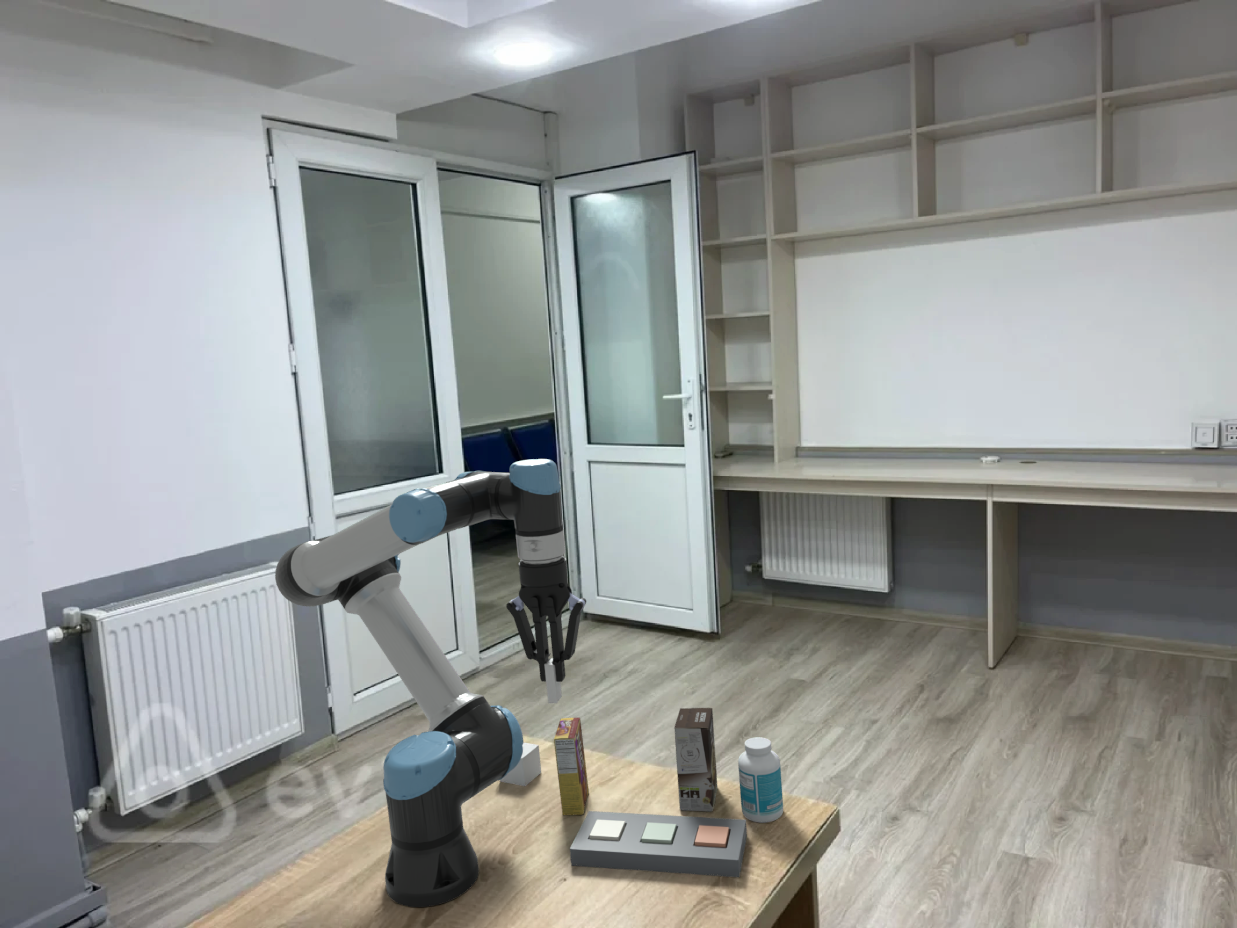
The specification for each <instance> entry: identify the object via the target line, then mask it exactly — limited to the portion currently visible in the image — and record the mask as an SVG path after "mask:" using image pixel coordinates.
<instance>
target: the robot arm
mask: <svg viewBox="0 0 1237 928" xmlns="http://www.w3.org/2000/svg"><path fill="white" fill-rule="evenodd" d="M561 486H562V485H561V483H560V479H559V472H558V467H557V464H556V462H554V461H553V460H552V459H550V458H549V459H547V458H538V459H537V458H536V459H534V458H533V459H523V460H519V461H515V462H513V463H512V464H511V465H510V466H509V472H495V471H493V472H492V471H484V470H475V471H465V472H464V471H463V472H462V473H459V474H458V475H457V476H456V477H455V478H454V479H453V480H450V481H446V482H444V483H439V484H435V485H430V486H427V487H422V488H418V487H417V488H415V489H412V490H409V491H408V492H404V493H402V494H400V495H398V496H397V497H395V498H394V499H393V500H392V503H391V504H389V505H388V506H386V507H384V508H382V509H380V510H379V511H376V512H374V513H373V514H370V515H369V516H366V517H364V518H363V519H361V520H359V521H357V522H355V523H354V524H352V525H351V524H350V526H347V527H346V528H344V529H342V530H340V531H338V532H336V533H334V534H331V535H327V536H325V537H320V538H317V539H313V540H310V541H305V542H302V543H300V544H297V545H295V546H293V547H291V548H290V549H289V550H287V551H286V552H285V553H284V554H283V555H281V558H280V559H279V560H278V562H277V564H276V568H275V571H274V573H275V574H274V577H275V585H276V587H277V589H278V591H279V592H280V594H281V595H282V596H283V597H284V598H285V599H286V600H287V601H289V602H290V603H292V604H295V605H298V606H301V607H317V606H322V605H325V604H329V603H331V602H335V601H339V604H341V607H342V608H343V609H344V611H345V612H346V613H347V614H353V615H358V616H359V618H360V619H361V621H362V622H363V624H364V626H365V627H366V628H367V630H368V631H369V633H370V635H371V636H372V637H373V638H374V640H375V642H376V644H377V645H378V646H379V648H380V649H381V651H382V653H384V656H385V657H386V658H387V660H388V661H389V663H390V665H391V666H392V667H393V669H394V670H395V672H396V673H397V675H398V676H399V678H400V679H401V681H402V683H403V684H404V685H405V688H406V689H407V690H408V691H409V693H410V694H411V696H412V697H413V699H414V700H415V702H416V704H417V705H418V707H419V708H420V710H421V711H422V713H423V714H424V716H425V717H426V719H427V720H428V721H429V727H428V731H424V732H421V733H420V734H418V735H417V734H413V735H411V736H408V737H406V738H404V739H402V740H401V741H399V742H398V743H397V744H395V745H394V746H393V747H392V748H391V749H390V750H389V751H388V753H387V754H386V756H385V758H384V761H383V767H382V768H383V778H382V779H383V788H384V789H383V790H384V792H385V800H386V804H387V805H386V806H387V813H388V820H389V821H388V822H389V830H390V831H389V832H390V839H391V846H390V850H389V855H388V860H387V865H386V869H385V874H384V883H385V887H386V888H385V891H386V894H387V895H388V897H389V898H390V900H392V901H394V902H395V903H397V904H399V905H401V906H406V907H411V908H427V907H432V906H438V905H441V904H445V903H448V902H450V901H452V900H454V899H456V898H458V897H460V896H462V895H463V894H465V893H467V892H468V890H470V889H471V888H472V886H473V885H475V883H476V881H477V879H478V877H479V874H480V870H479V869H480V867H479V860H478V859H479V858H478V855H477V853H476V851H475V849H474V847H473V845H472V843H471V841H470V839H469V836H468V834H467V833H466V830H465V829H464V822H463V812H462V806H463V804H465V803H466V802H467V801H469V800H470V799H472V798H473V797H475V796H476V795H478V794H480V793H481V792H483V791H484V790H486V789H487V788H488V787H490V786H492V784H494V783H496V782H498V781H499V782H500V780H501V779H503V778H504V776H506V775H507V773H509V772H510V771H511V770H513V769H514V768H515V767H516V766H517V764H518V763H519V761H520V759H521V757H522V753H523V746H522V745H523V742H524V736H523V731H522V728H521V725H520V723H519V721H518V719H517V718H516V716H515V715H514V714H513V712H512V711H511V710H509V709H508V708H507V707H503V706H502V705H491V704H490V703H489V702H488V701H487V699H486V698H485V696H484V695H483V694H478V693H477V694H476V693H473V692H471V691H470V690H469V688H468V687H467V685H466V684H465V682H464V681H463V680H462V678H461V677H460V675H459V674H458V672H457V670H455V668H454V666H453V665H452V663H451V662H450V661H449V659H448V657H447V656H446V655H445V653H444V652H443V650H442V649H441V647H440V646H439V644H438V643H437V642H436V640H435V638H434V637H433V636H432V634H431V633H430V631H429V629H428V628H427V626H426V625H425V624H424V623H423V621H422V620H421V617H420V616H419V615H418V614H417V613H416V611H415V609H414V607H413V606H412V605H411V604H410V602H409V601H408V599H407V598H406V596H405V594H404V593H403V592H402V591H401V588H400V585H401V581H402V576H401V574H400V573H399V572H400V569H401V562H402V561H401V558H400V557H398V556H399V555H400V554H402V553H404V552H406V551H408V550H410V549H412V548H414V547H417V546H419V545H421V544H424V543H426V542H428V541H430V540H433V539H435V538H437V537H440V536H442V535H444V534H448V533H450V532H453V531H456V530H459V529H462V528H463V529H464V528H466V527H470V526H473V525H475V524H476V525H477V524H478V523H482V522H484V521H488V520H508V521H513V522H514V529H515V530H514V531H515V539H516V540H515V541H516V550H517V557H518V559H519V562H518V572H519V581H520V589H519V591H518V595H517V596H516V597H514V598H512V599H511V600H510V601H508V602H507V603H506V605H505V606H506V609H507V610H508V612H509V614H511V616H512V618H513V620H514V623H515V626H516V628H517V629H516V630H517V631H518V635H519V638H520V641H521V644H522V647H523V651H524V653H525V656H526V658H527V659H528V660H533V661H537V663H538V668H539V670H538V671H539V677H540V681H541V682H545V684H546V685H545V686H546V693H547V694H546V696H547V703H548V704H558V702H559V701H560V700H561V699H562V695H563V693H562V684H561V683H562V682H563V681H564V680H565V678H566V668H565V667H566V666H565V661H568V660H571V658H572V657H573V656H574V655H575V653H576V648H577V641H578V636H579V635H578V633H579V628H580V627H579V626H580V621H581V615H582V611H583V609H584V608H585V606H586V605H587V599H586V598H584V597H580V598H579V597H578V596H577V595H574V594H573V592H572V591H573V590H572V588H571V587H570V585H569V577H568V568H567V567H568V566H567V558H566V557H565V556H564V555H565V554H566V544H565V532H564V524H563V518H562V499H561V498H562V496H561V495H562V494H561V488H562V487H561ZM567 603H569V605H568V608H569V610H570V611H571V612H570V613H569V618H568V624H567V628H566V629H567V630H566V637H565V643H564V632H563V625H562V623H563V622H562V616H563V613H562V611H564V610H563V609H564V608H565V606H566V605H567ZM525 607H526V608H527V609H528V610H529V611H530V613H531V615H532V617H531V618H532V623H533V624H534V625H533V627H534V633H533V629H532V626H531V624H530V621H529V618H528V615H527V612H526V610H525ZM547 621H548V624H549V631H550V643H551V652H550V649H549V647H550V646H549V637H548V626H547V625H548V624H547ZM551 655H552V658H551V657H550V656H551Z"/></svg>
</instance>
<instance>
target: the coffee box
mask: <svg viewBox="0 0 1237 928" xmlns="http://www.w3.org/2000/svg"><path fill="white" fill-rule="evenodd" d="M714 727H715V726H714V712H713V708H712V707H691V708H689V707H687V708H683V707H681V708H679V711H678V715H677V718H676V720H675V725H674V728H673V729H674V739H675V740H674V741H675V742H674V743H675V755H676V756H675V757H676V758H675V759H676V772H677V773H676V774H677V787H678V788H677V789H678V799H679V800H678V804H679V810H680V811H690V812H691V811H692V812H713V811H714V808H715V803H716V796H717V793H718V774H717V758H716V757H717V756H716V745H715V743H716V742H715V731H714V729H715V728H714Z"/></svg>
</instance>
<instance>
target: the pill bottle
mask: <svg viewBox="0 0 1237 928" xmlns="http://www.w3.org/2000/svg"><path fill="white" fill-rule="evenodd" d="M772 748H773V746H772V741H771V740H770V739H768V738H767V737H766V738H765V737H761V736H760V737H759V736H758V737H757V736H755V737H750V738H748V739H746V740H745V741H744V751H743V752H742V753H741V754H740V755H739V757H738V760H737V764H738V779H739V794H740V795H739V796H740V804H741V805H740V806H741V813H742V815H743V816H744V817H745V818H746V819H747V820H749V821H750V822H754V823H762V824H764V823H771V822H774V821H776V820H778V819H780V818H781V817H782V816H783V812H784V799H783V798H784V797H783V787H782V785H783V784H782V783H783V782H782V772H781V771H782V768H781V759H780V756H779V755H778V754H777V753H776V752H775V751H774V750H773V749H772Z"/></svg>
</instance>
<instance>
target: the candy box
mask: <svg viewBox="0 0 1237 928" xmlns="http://www.w3.org/2000/svg"><path fill="white" fill-rule="evenodd" d="M582 730H583V729H582V722H581V717H564V718H560V720H559V723H558V726H557V729H556V732H555V734H554V738H553V743H554V745H553V746H554V753H555V762H556V770H557V779H558V780H557V781H558V789H559V797H560V804H561V813H562V816H582V815H583V816H584V812H585V809H586V805H587V799H588V796H589V795H588V794H589V791H590V789H589V782H588V775H587V774H588V773H587V772H588V771H587V764H586V763H587V762H586V756H585V747H584V739H583V731H582Z"/></svg>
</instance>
